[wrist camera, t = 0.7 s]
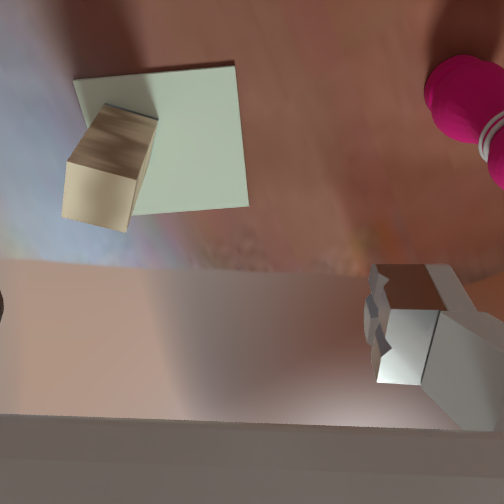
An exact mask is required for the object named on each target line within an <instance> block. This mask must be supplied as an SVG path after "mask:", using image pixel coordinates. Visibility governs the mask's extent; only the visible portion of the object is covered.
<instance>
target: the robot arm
mask: <svg viewBox="0 0 504 504" xmlns="http://www.w3.org/2000/svg"><path fill="white" fill-rule="evenodd" d="M369 285H370V288H371V292H372V293H371V294H370V295H369V296H368V297H367V298H366V301H365V309H364V328H365V335H366V340H367V343H368V344H369V345H371V346H372V353H371V361H372V365H373V369H374V373H375V377H376V381H377V383H394V384H411V385H421V388H422V389H423V390H424V391H425V392H426V393H427V394H428V395H429V396H430V397H431V398H432V399H433V400H434V401H435V402H436V403H437V404H438V405H439V406H440V407H441V408H442V409H443V410H444V411H445V412H446V413H447V414H448V415H449V416H450V417H451V418H452V419H453V420H454V421H455V422H456V423H457V425H458V426H459V427H460V428H462V430H439V429H411V428H378V427H352V426H325V425H298V424H270V423H244V422H243V423H242V422H217V421H189V420H163V419H135V418H106V417H105V418H104V417H76V416H75V417H74V416H48V415H19V414H0V504H504V323H503V322H501V321H500V320H498V319H497V318H495V317H493V316H491V315H490V314H488V313H486V312H478V311H477V309H476V308H475V306H474V304H473V303H472V301H471V300H470V298H469V296H468V295H467V293H466V291H465V290H464V288H463V286H462V284H461V283H460V281H459V279H458V278H457V276H456V274H455V273H454V271H453V269H452V268H451V266H450V265H448V264H372V267H371V270H370V275H369ZM3 311H4V303H3V297H2V294H1V291H0V322H1V318H2V315H3Z"/></svg>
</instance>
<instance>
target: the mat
mask: <svg viewBox="0 0 504 504" xmlns="http://www.w3.org/2000/svg"><path fill="white" fill-rule="evenodd" d="M73 83H74V86H75V90H76V93H77V96H78V99H79V102H80V106H81V109H82V112H83V115H84V118H85V122H86V125H87V128H89V127H90V125H91V124H92V122H93V120H94V119H95V117H96V116H97V114H98V113H99V111H100V110H101V108H102V107H103V105H104V103H108V104H111V105H114V106H118V107H121V108H124V109H128V110H131V111H134V112H138V113H141V114H144V115H148V116H151V117H154V118H158V119H159V120H158V125H157V129H156V134H155V139H154V143H153V148H152V153H151V157H150V162H149V166H148V169H147V172H146V175H145V178H144V180H143V183H142V186H141V189H140V192H139V195H138V198H137V201H136V204H135V207H134V210H133V213H132V215H143V214H156V213H169V212H181V211H194V210H206V209H219V208H232V207H244V206H249V201H248V191H247V181H246V171H245V161H244V151H243V141H242V131H241V121H240V111H239V101H238V92H237V82H236V72H235V65H232V66H220V67H209V68H198V69H187V70H176V71H165V72H154V73H143V74H132V75H121V76H110V77H98V78H87V79H76V80H73Z"/></svg>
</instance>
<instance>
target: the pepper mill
mask: <svg viewBox="0 0 504 504" xmlns="http://www.w3.org/2000/svg"><path fill="white" fill-rule="evenodd" d="M424 98H425V102H426V105H427V107H428V108H429V109H430V111H431V112H432V117H433V120H434V122H435V124H436V126H437V127H438V128H439V129H440V130H441V131H442V132H443V133H444V134H445V135H447V136H448V137H450V138H452V139H455V140H457V141H460V142H465V143H476V144H478V148H479V153H480V155H481V157H482V158H483V159H484V160H485V161H486V162H487V164H488V171H489V173H490V175H491V177H492V179H493V180H494V182H495V183H496V184H497V185H498V186H499V187H501V188H502V189H503V190H504V69H503V68H502V67H501V66H499V65H497V64H495V63H493V62H489V61H481V60H480V59H478V58H477V57H474V56H471V55H457V56H453V57H451V58H449V59H447V60H445V61H444V62H442V63H441V64H439V65H438V66H437V67H436V68H435V69H434V70H433V72H432V73H431V75H430V76H429V78H428V80H427V82H426V86H425V90H424Z"/></svg>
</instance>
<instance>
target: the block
mask: <svg viewBox="0 0 504 504" xmlns="http://www.w3.org/2000/svg"><path fill="white" fill-rule="evenodd" d="M158 120H159V119H158V118H154V117H151V116H148V115H144V114H141V113H138V112H134V111H131V110H128V109H124V108H121V107H118V106H114V105H111V104H108V103H104V105H103V107H102V108H101V110H100V111H99V113H98V114H97V116H96V117H95V119H94V120H93V122H92V124H91V125H90V127H89V128H88V130H87V131H86V133H85V134H84V136H83V137H82V139H81V141H80V142H79V144H78V145H77V147H76V148H75V150H74V151H73V153H72V154H71V156H70V158H69V159H68V161H67V166H66V176H65V186H64V196H63V207H62V217H64V218H68V219H72V220H76V221H80V222H84V223H88V224H92V225H96V226H100V227H105V228H109V229H113V230H117V231H121V232H125V233H126V231H127V228H128V225H129V222H130V219H131V216H132V213H133V210H134V207H135V204H136V201H137V198H138V195H139V192H140V189H141V186H142V183H143V180H144V178H145V175H146V172H147V169H148V166H149V162H150V157H151V153H152V148H153V143H154V139H155V134H156V129H157V125H158Z"/></svg>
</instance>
